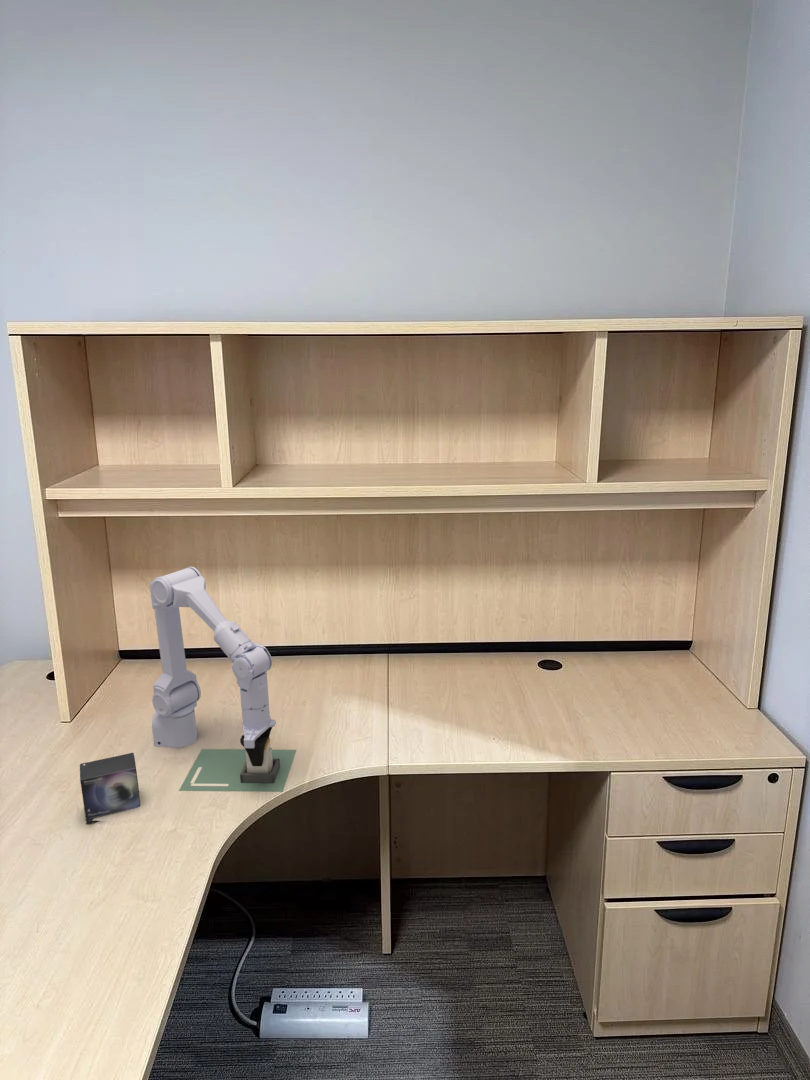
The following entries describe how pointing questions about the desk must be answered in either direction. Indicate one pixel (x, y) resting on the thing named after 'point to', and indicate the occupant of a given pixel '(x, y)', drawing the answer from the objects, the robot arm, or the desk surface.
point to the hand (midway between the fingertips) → (259, 759)
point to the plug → (267, 761)
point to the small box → (109, 786)
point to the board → (236, 772)
